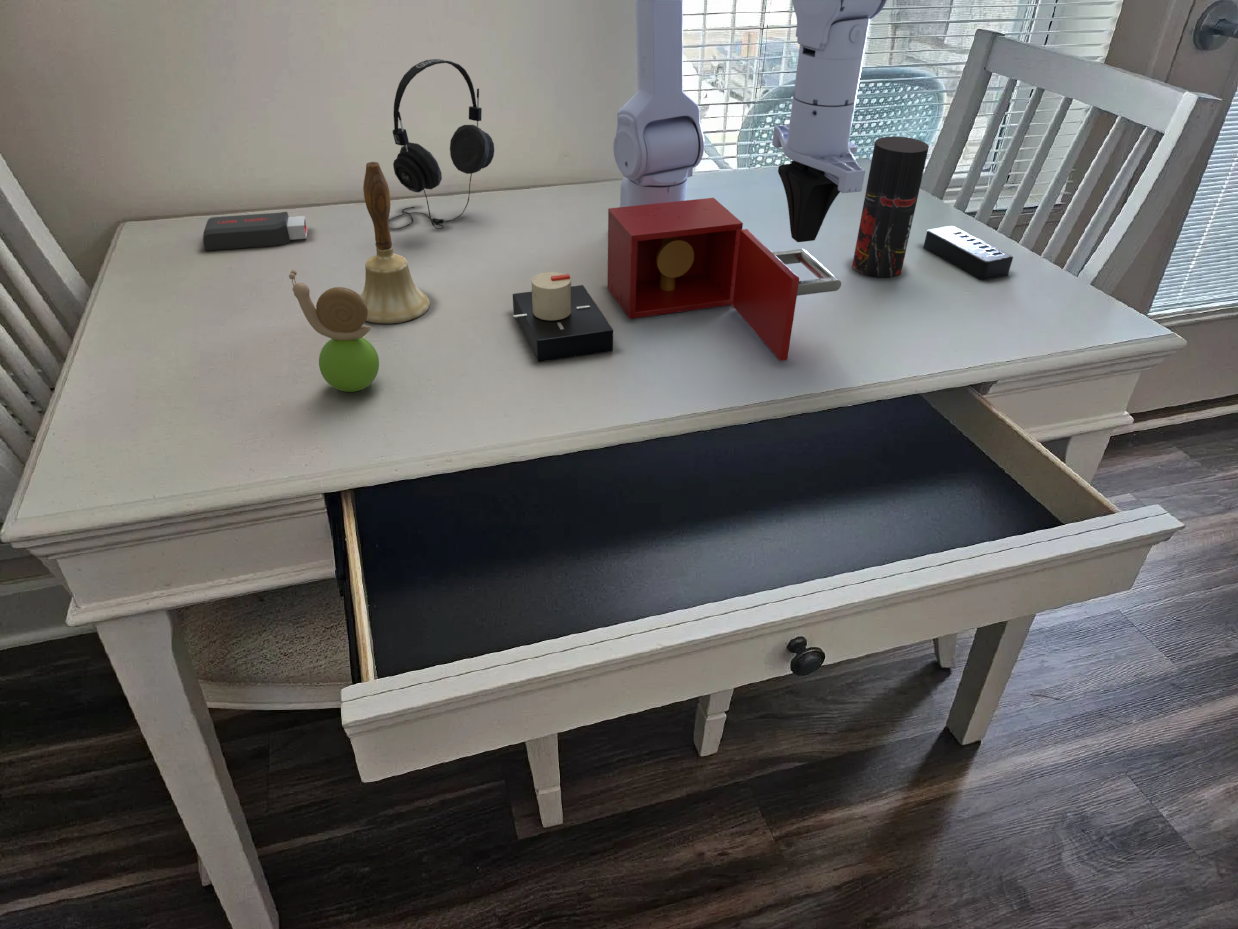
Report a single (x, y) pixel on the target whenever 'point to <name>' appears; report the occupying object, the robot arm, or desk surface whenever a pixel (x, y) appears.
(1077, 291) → the desk surface
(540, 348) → the panel
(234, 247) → the usb drive
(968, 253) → the multiport hub
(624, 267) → the cabinet
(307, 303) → the snail figurine
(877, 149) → the deodorant
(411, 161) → the headphones
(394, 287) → the hand bell
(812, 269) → the red drawer
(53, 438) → the desk surface
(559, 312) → the lock dial
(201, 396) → the desk surface
